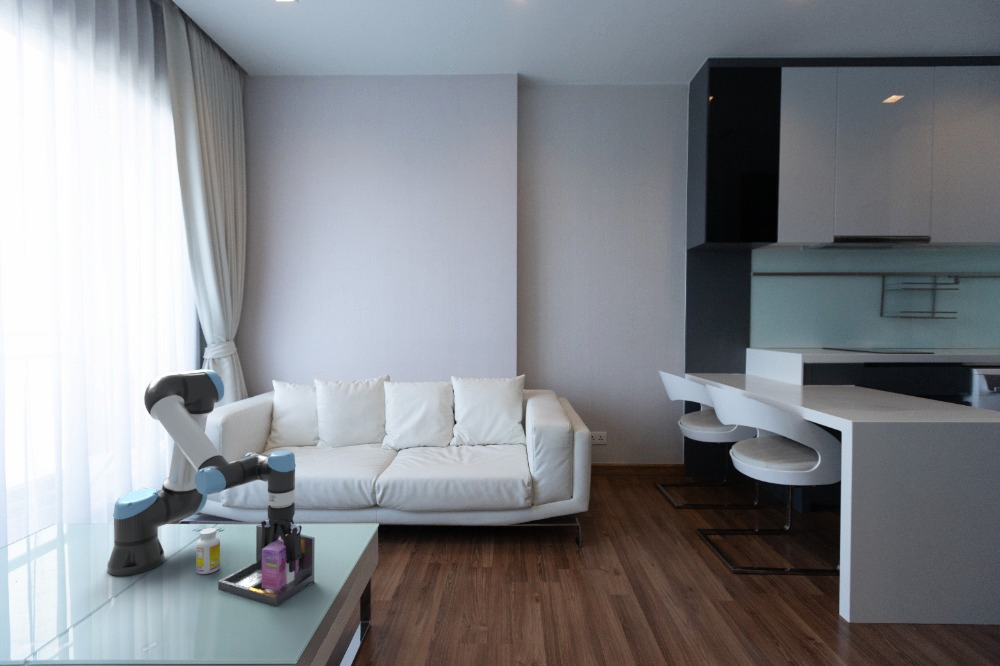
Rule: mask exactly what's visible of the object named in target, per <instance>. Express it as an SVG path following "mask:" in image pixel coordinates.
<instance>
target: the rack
mask: <svg viewBox="0 0 1000 666" xmlns="http://www.w3.org/2000/svg"><path fill="white" fill-rule="evenodd" d="M255 529H256V531H255V533H256V537H255V539H256V540H255V541H256V545H255V547H256V548H255V552H256V553H255V555H256V556H255V559H256V560H254V561H253V562H251V563H250V564H249V563H248V564H247V565H245V566H244V567H242V568H240V569H238V570H236V571H234V572H233V573H231V574H229V575H226V577H223V578H221V579H220V580H218V582H217V586H218V587H217V588H218V590H220V591H222V592H226V593H229V594H233V595H235V596H239V597H242V598H245V599H249V600H251V601H252V600H253V601H256V602H259V603H262V604H265V605H269V606H271V607H272V606H273V607H276V608H278V607H279V606H281V605H282V604H284V603H285V602H287V601H288V600H289V599H291V598H292V597H294V596H296V595H297V594H298V593H300V592H301V591H304V589H306V588H308V587H309V586H310V585H312V584H314V583H315V543H316V541H315V537H314V536H310V535H306V534H305V535H304V534H301V533H300V534H301V553H302V557H301V558H300V559H299V573H298V574H297V575H295V576H294V580H293V581H291V582H290V583H288V584H285V585H284V586H282V587H281V588H280V589H279V590H272V589H265V588H262V553H261V541H262V525H261V524H258V525H256V528H255ZM286 535H288V534H286ZM279 537H280V535H279Z"/></svg>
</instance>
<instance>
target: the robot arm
mask: <svg viewBox="0 0 1000 666" xmlns="http://www.w3.org/2000/svg"><path fill="white" fill-rule="evenodd" d="M143 395H144V397H143V400H144V406H145V408H146V409H145V410H146V411H147V413H148V414H149V415H150V417H151V418H152V419H154V420H156V421H159V423H160V424H161V425H162V426H163V428H164V429H165V431H166V432H167V433H168V435H169V436H170V437H171V439H172V441H174V442H173V447H172V454H171V455H172V456H171V460H170V461H171V462H170V469H169V473H168V474H169V476H168V477H166V478H165V479H164V480H163V482H162V487H161V489H159V490H157V489H156V488H153V487H148V488H143V489H137V490H133V491H130V492H127V493H125V494H123V495H122V496H120V497H119V498H118V499H117V500H116V501H115V503H114V508H113V515H112V516H113V538H114V541H113V543H114V544H113V548H112V551H111V553H110V556H109V560H108V561H107V569H106V570H107V573H108V574H109V575H112V576H114V577H115V576H116V577H117V576H118V577H124V576H133V575H137V574H142V573H145V572H147V571H150V570H152V569H154V568H157V567H158V566H160V565H161V564H162V563H163V562H164V560H165V551H164V548H163V545H162V544H161V541H160V538H159V527H161V526H165V525H167V524H168V525H169V524H171V523H174V522H177V521H180V520H182V519H187V518H190V517H192V516H194V515H197V514H198V513H200V512H201V511H202V510H203V509H204V508H205V506H206V503H207V501H208V495H213V494H217V493H221V492H223V491H226V490H228V489H229V490H230V489H232V488H235V487H239V486H242V485H245V484H249V483H252V482H255V481H263V482H265V483H267V505H268V506H267V519H265V520H262V521H261V523H260V525H262V541H261V553H262V549H263V548H265V547H266V546H267V545H269V544H270V543H272V542H274V541H276V540H278V538H279V535H280V536H281V539H282V540H283V542H284V546H286V555H287V559H288V561H286V568H285V583H286V584H288V583H290V582H291V581H293V580H294V571H295V569H296V560H298V559H300V558H301V557H302V553H301V532H302V528H303V527H302V525H301V524H300V525H296V524H295V522H294V517H295V513H296V512H295V511H296V510H295V509H296V504H295V501H296V488H295V486H296V458H295V457H296V456H295V453H294V452H293V451H290V450H283V449H282V450H276V451H272V452H270V453H269V454H264V453H260V452H253V451H252V452H247V453H245V454H244V455H243V456H241V457H240V458H238V459H236V460H231V461H227V459H226V458H225V457H224V456H223V454H222V453H221V452H220V450H219V449H218V448H217V447H216V445H215V444H214V443H213V442H212V440H211V439H210V438H209V436H208V435H207V434H206V427H207V421H208V415H209V414H212V413H213V411H214V408H215V403H216V404H217V403H219V402H221V400H222V399H224V395H225V385H224V382H223V380H222V378H221V376H220V374H219V373H218V372H216V371H214V370H213V369H197V370H195V369H194V370H185V371H184V370H183V371H173V372H172V371H171V372H170V371H169V372H165V373H163V374H160V375H158V376H156V377H154V378H153V379H152V380H151V381H150V383H148V385H147V387H146V388H145V392H144V394H143ZM286 534H288V535H286ZM285 535H286V536H285Z"/></svg>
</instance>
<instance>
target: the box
mask: <svg viewBox="0 0 1000 666" xmlns="http://www.w3.org/2000/svg"><path fill="white" fill-rule="evenodd" d="M285 536H286V535H285ZM286 561H288V559H287V555H286V546H284V542H283V540H282V539H281V536H280V537H279V538H278V540H276V541H274V542H272V543H270V544H269V545H267V546H266V547H265V548H263V549H262V588H265V589H272V590H279V589H280V588H281V587H282V586H284V585H285V584H286V583H285V568H286ZM298 573H299V559H298V560H296V569H295V571H294V576H295V575H297V574H298Z"/></svg>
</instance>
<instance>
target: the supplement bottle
mask: <svg viewBox="0 0 1000 666" xmlns="http://www.w3.org/2000/svg"><path fill="white" fill-rule="evenodd" d="M199 537H200V538H199V539H198V540H197V541H196V544H195V548H196V550H195V551H196V552H195V554H196V555H195V558H196V561H195V562H196V565H195V566H196V572H197V573H198V574H199V575H207V574H208V575H209V574H213V573H215V572H217V571H218V570H219V569H220V568H221V539H220V537H219V536H218V535H217V528H215V527H207V528H204V529H202V530H200V531H199Z"/></svg>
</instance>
